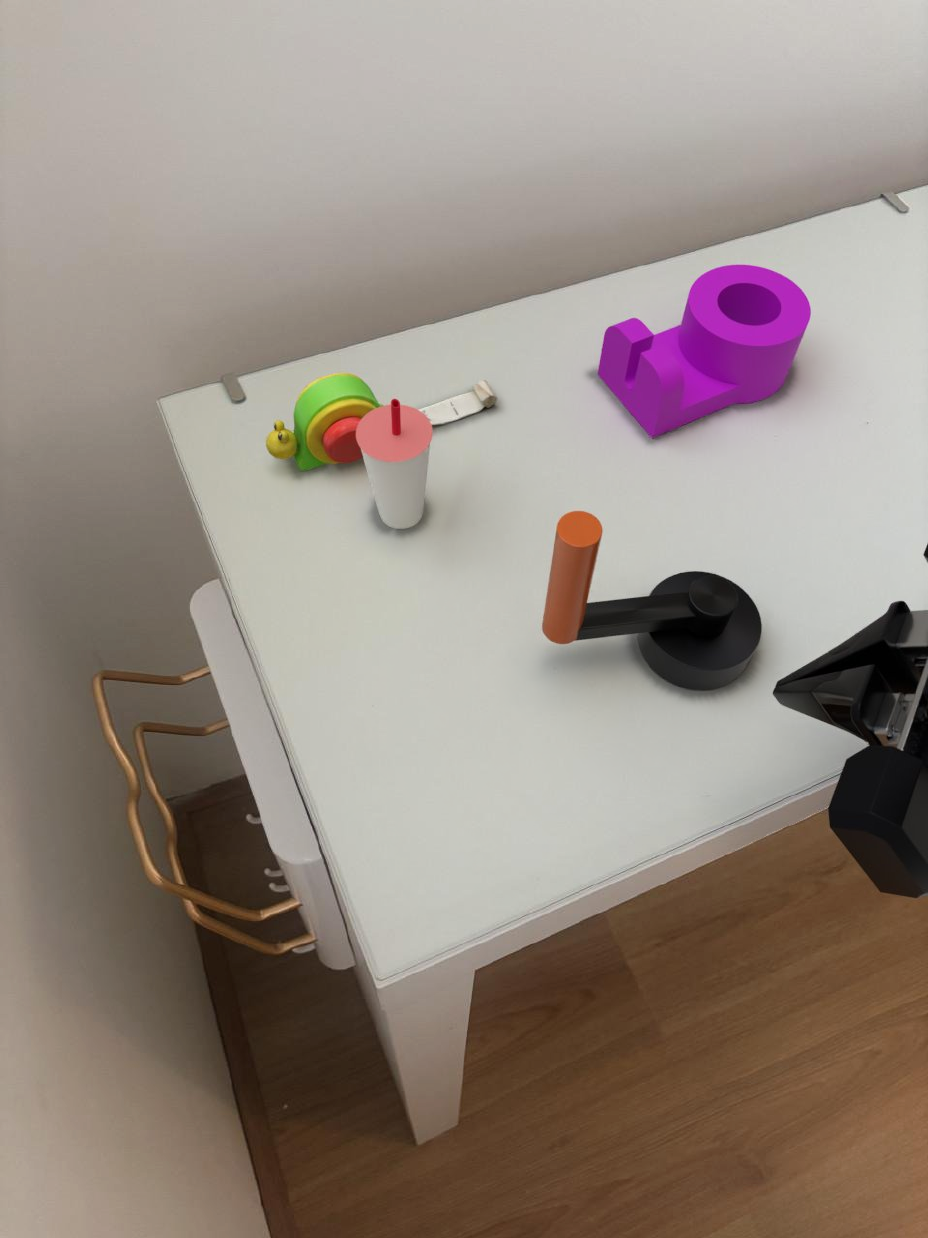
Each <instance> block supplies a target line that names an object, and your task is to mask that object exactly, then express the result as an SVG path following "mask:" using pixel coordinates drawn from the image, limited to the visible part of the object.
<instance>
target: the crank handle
mask: <svg viewBox="0 0 928 1238" xmlns="http://www.w3.org/2000/svg"><path fill="white" fill-rule="evenodd" d="M603 530H604V529H603V525H602V523H601V521H600V520H599V518H598V517H596V516H595V515H594V514H592V513H591V512H589V511H585V510H572V511H569V512H567V513H565V514H563V515H562V516H561V517H560V518H559V520H558V522H557V524H556V529H555V536H554V543H553V550H552V556H551V563H550V571H549V577H548V582H547V590H546V597H545V604H544V609H543V617H542V623H541V630H542V633H543V634H544V636H545V637H546V639H548V641H550V642H552V643H554V644H557V645H558V644H559V645H568V644H571V643H573V642H576V641H585V640H591V639H600V638H602V639H603V638H610V637H619V636H629V635H638V633H645V632H654V631H663V630H671V629H680V628H688V629H689V630H690V631H692V632H693V633H695V634H698V635H701V636H714V635H717V634H719V633H720V632H722V631H723V630H724V629H725V627H726V626H727V624H728V621H729V619H730V617H731V615H732V613H733V611H734V609H735V607H736V605H737V600H738V598H737V593H736V590H735V589H734V587H733V586H732V585H731V584H730V583H729V582H728V581H726V580H725V579H723V578H720V577H717V576H703V577H700V578H698V579H696V580H695V581H694V582H693V583H692V584H691V586H690V588H689V591H688V592H679V593H670V594H661V595H653V596H649V595H645V596H637V597H636V596H635V597H628V598H627V597H626V598H619V599H618V598H617V599H610V600H602V601H601V600H600V601H591V602H588V600H589V595H590V591H591V587H592V582H593V577H594V573H595V569H596V565H597V560H598V555H599V550H600V547H601V542H602V536H603Z"/></svg>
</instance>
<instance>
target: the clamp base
mask: <svg viewBox="0 0 928 1238" xmlns="http://www.w3.org/2000/svg"><path fill="white" fill-rule="evenodd" d="M703 576H717V577H720V578H723V579H725V580H726V581H728V582H729V583H730V584H731V585H732V586H733V587H734V589H735V590H736V593H737V598H738V600H737V605H736V607H735V609H734V611H733V613H732V615H731V617H730V619H729V621H728V624H727V626H726V627H725V629H724V630H723V631H722V632H720V633H719V634H717V635H714V636H701V635H698V634H695V633H693V632H692V631H690V630H689V629H688V628H680V629H671V630H663V631H654V632H645V633H637V644H638V648H639V650H640V654H641V656H642V658H643V660H644V661H645V663H646V664H647V665H648V667H649V668H650V669H651V670H652V671H653V672H654V673H655V674H656V675H657V676H658V677H660V678H661V679H663V680H664V681H666V682H668V683H670V684H671V685H674V686H677V687H679V688H683V689H686V690H693V691H710V690H711V691H712V690H716V689H719V688H722V687H725V686H727V685H729V684H731V683H733V681H735V680H736V679H738V677H740V676H741V675H742V673H743V672H744V671H745V669H746V667H747V665H748V663H749V662H750V660H751V658H752V656H753V654H754V653H755V651H756V649H757V647H758V646H759V643H760V641H761V638H762V637H761V636H762V633H763V632H762V630H763V627H762V619H761V614H760V611H759V609H758V607H757V605H756V603H755V602H754V600H753V599H752V598H751V596H750V595H749V594H748V592H746V591H745V589H743V588H742V587H741V586H739V585H738V584H737V583H736V582H733V580H730V579H729V578H727V577H725V576H723V575H719V574H716V573H712V572H710V571H709V572H708V571H698V570H691V571H683V572H679V573H676V574H672V575H670V576H667V577H666V578H665V579H663V580H661V581H660V582H659V583H657V585H655V586H654V588H653V589H652V590H651V592H650V593H649V595H648V596H653V595H661V594H670V593H679V592H688V591H689V588H690V586H691V584H692V583H693V582H694V581H695V580H696V579H698V578H700V577H703Z"/></svg>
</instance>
